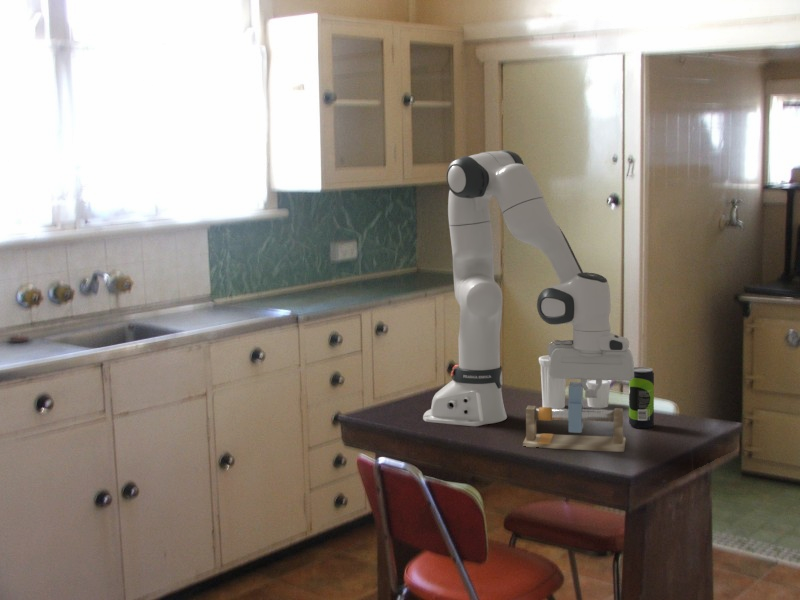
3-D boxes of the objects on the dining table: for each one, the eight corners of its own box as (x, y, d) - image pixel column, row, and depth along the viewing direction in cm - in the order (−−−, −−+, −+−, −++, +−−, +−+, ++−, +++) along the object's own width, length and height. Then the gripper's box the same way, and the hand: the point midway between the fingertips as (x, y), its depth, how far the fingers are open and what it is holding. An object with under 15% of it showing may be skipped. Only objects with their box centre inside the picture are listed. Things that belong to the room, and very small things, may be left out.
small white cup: (582, 403, 302) (582, 379, 302) (606, 402, 303) (606, 378, 302) (589, 409, 296) (589, 384, 295) (613, 408, 296) (613, 383, 295)
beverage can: (658, 425, 276) (658, 368, 274) (645, 430, 271) (645, 372, 270) (637, 422, 280) (637, 365, 278) (624, 426, 276) (624, 369, 274)
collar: (568, 432, 256) (568, 387, 255) (571, 425, 263) (570, 381, 261) (581, 432, 255) (580, 387, 254) (583, 425, 262) (583, 381, 261)
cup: (544, 403, 304) (543, 354, 302) (571, 405, 300) (571, 356, 298) (535, 410, 297) (534, 359, 295) (563, 412, 293) (562, 361, 291)
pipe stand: (522, 447, 258) (522, 411, 257) (527, 438, 267) (527, 402, 266) (623, 451, 252) (623, 414, 251) (625, 441, 261) (625, 405, 260)
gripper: (546, 342, 255) (546, 398, 257) (634, 343, 250) (633, 401, 252) (549, 337, 261) (549, 393, 263) (634, 339, 256) (634, 395, 258)
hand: (591, 397), depth 257 cm, fingers closed
